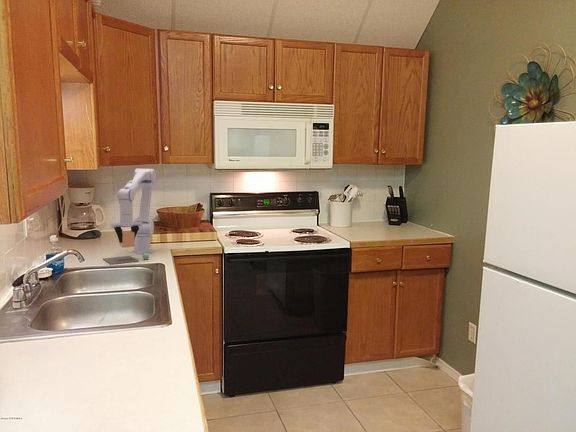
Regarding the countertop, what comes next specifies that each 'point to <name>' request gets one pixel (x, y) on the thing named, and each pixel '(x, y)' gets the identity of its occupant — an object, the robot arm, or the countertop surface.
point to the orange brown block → (127, 239)
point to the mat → (120, 260)
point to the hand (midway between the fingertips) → (126, 241)
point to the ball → (145, 256)
